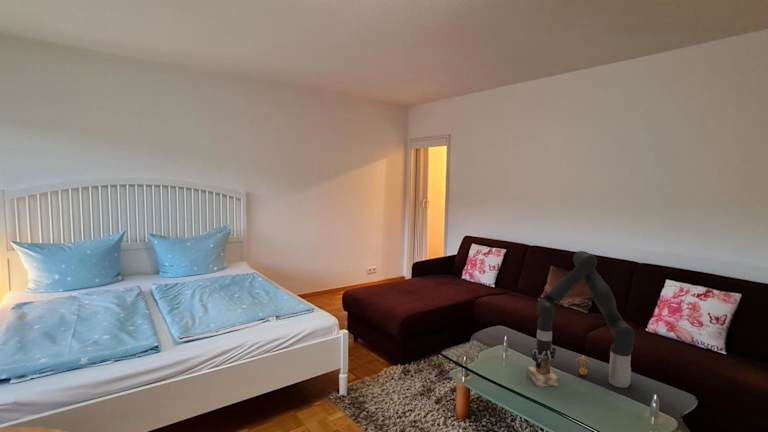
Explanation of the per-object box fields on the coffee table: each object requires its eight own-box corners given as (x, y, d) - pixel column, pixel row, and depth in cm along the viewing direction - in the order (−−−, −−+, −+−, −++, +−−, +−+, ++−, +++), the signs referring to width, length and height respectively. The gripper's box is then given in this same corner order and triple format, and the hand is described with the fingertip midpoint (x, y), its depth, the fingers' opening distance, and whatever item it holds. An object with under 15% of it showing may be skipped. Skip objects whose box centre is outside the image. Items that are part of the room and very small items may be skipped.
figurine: (592, 375, 216) (593, 354, 214) (590, 380, 211) (591, 359, 209) (575, 371, 221) (576, 350, 219) (573, 375, 216) (574, 354, 214)
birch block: (547, 374, 218) (548, 366, 217) (558, 386, 206) (559, 377, 206) (526, 375, 217) (527, 367, 217) (536, 387, 205) (537, 378, 205)
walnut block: (543, 369, 214) (544, 356, 213) (549, 373, 209) (550, 361, 209) (535, 370, 213) (536, 358, 212) (542, 375, 208) (542, 362, 207)
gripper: (550, 332, 214) (549, 362, 216) (528, 336, 210) (527, 366, 212) (560, 338, 207) (559, 368, 209) (537, 342, 203) (536, 372, 205)
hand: (542, 367), depth 211 cm, fingers open, 6 cm apart
